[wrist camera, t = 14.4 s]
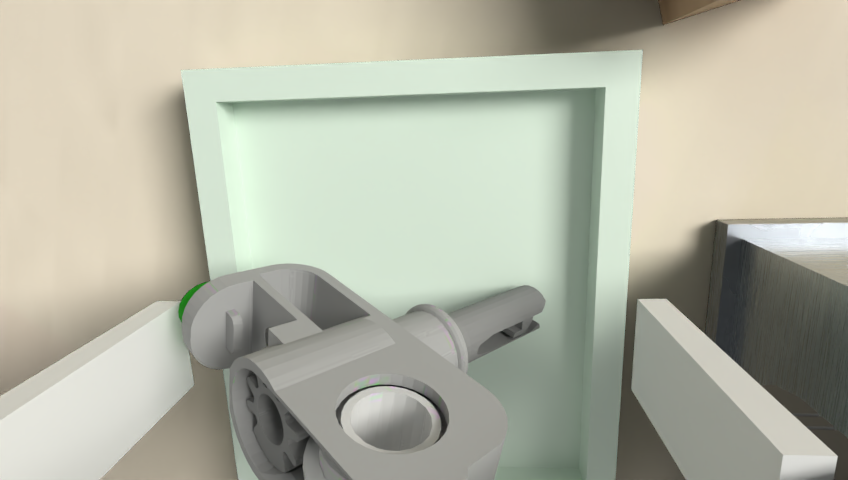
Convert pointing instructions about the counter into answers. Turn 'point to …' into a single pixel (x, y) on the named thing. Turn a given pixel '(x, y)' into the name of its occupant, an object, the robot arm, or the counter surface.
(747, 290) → the unit
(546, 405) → the tray
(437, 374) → the mechanical component
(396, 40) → the counter surface
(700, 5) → the walnut block
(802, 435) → the robot arm
